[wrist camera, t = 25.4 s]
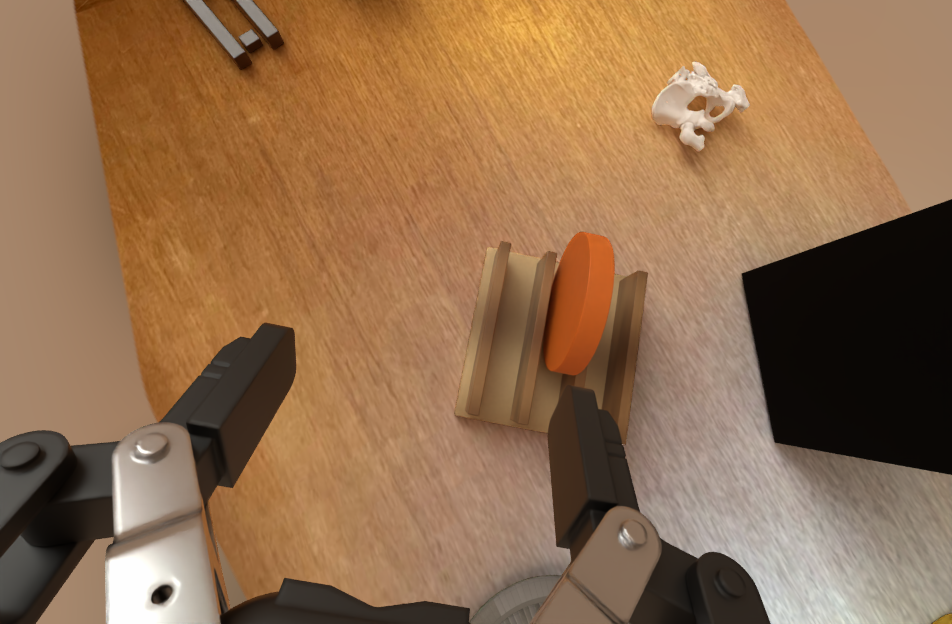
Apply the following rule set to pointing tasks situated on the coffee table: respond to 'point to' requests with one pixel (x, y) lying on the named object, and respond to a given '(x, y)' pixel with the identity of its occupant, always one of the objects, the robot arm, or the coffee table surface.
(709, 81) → the anatomical pelvis
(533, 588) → the flying saucer
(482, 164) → the coffee table surface
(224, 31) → the stand
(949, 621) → the teapot
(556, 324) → the disc
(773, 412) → the video game console
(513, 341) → the rack
